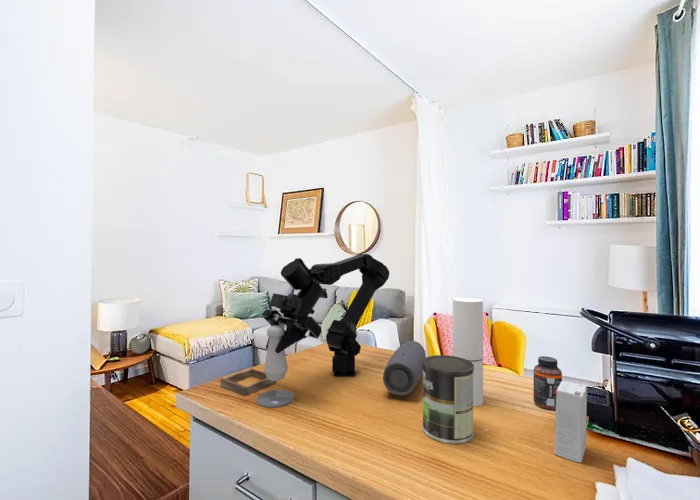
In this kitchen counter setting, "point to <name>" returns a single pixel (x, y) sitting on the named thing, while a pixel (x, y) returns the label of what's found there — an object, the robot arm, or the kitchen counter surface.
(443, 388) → the coffee can
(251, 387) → the square wooden frame
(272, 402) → the coaster
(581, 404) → the skincare box
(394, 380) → the bluetooth speaker
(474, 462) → the kitchen counter surface
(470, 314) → the cylindrical container
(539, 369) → the supplement bottle
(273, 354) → the salt shaker
